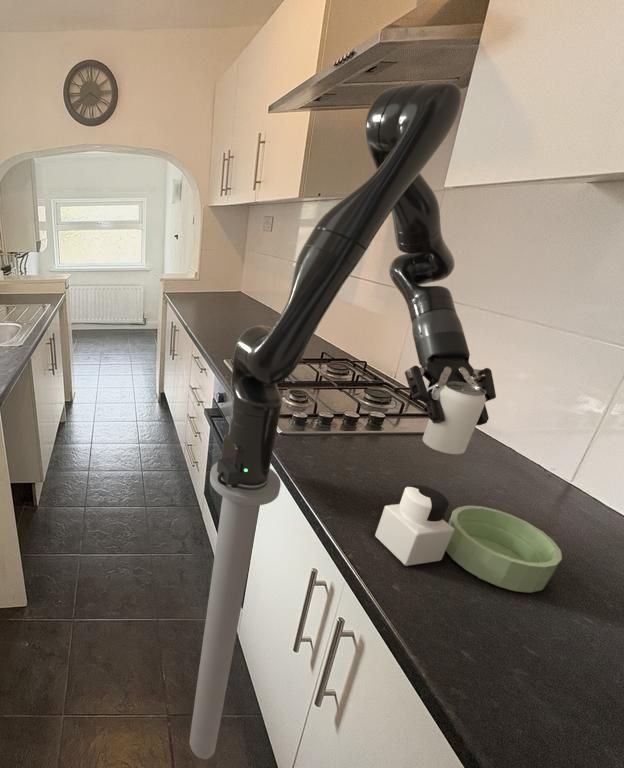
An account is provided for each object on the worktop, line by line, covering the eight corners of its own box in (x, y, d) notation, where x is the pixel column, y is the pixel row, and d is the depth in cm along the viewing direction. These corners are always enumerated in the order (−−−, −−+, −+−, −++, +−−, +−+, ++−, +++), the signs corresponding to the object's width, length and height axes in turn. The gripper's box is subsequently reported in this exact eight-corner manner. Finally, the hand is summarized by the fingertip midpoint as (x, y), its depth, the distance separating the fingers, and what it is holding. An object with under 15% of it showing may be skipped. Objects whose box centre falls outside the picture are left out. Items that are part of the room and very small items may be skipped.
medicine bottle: (407, 531, 77) (427, 477, 72) (442, 561, 70) (466, 505, 65) (373, 536, 75) (391, 482, 71) (405, 567, 69) (427, 510, 64)
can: (415, 435, 80) (435, 379, 75) (452, 439, 79) (475, 382, 74) (431, 453, 75) (454, 393, 70) (472, 458, 73) (498, 397, 69)
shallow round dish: (500, 602, 63) (515, 573, 61) (421, 537, 75) (431, 511, 73) (568, 586, 66) (586, 558, 63) (481, 526, 78) (493, 500, 75)
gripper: (411, 328, 76) (431, 415, 70) (494, 330, 75) (521, 419, 69) (388, 346, 83) (404, 427, 77) (463, 348, 82) (486, 430, 76)
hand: (460, 423), depth 73 cm, fingers closed on can, 6 cm apart
